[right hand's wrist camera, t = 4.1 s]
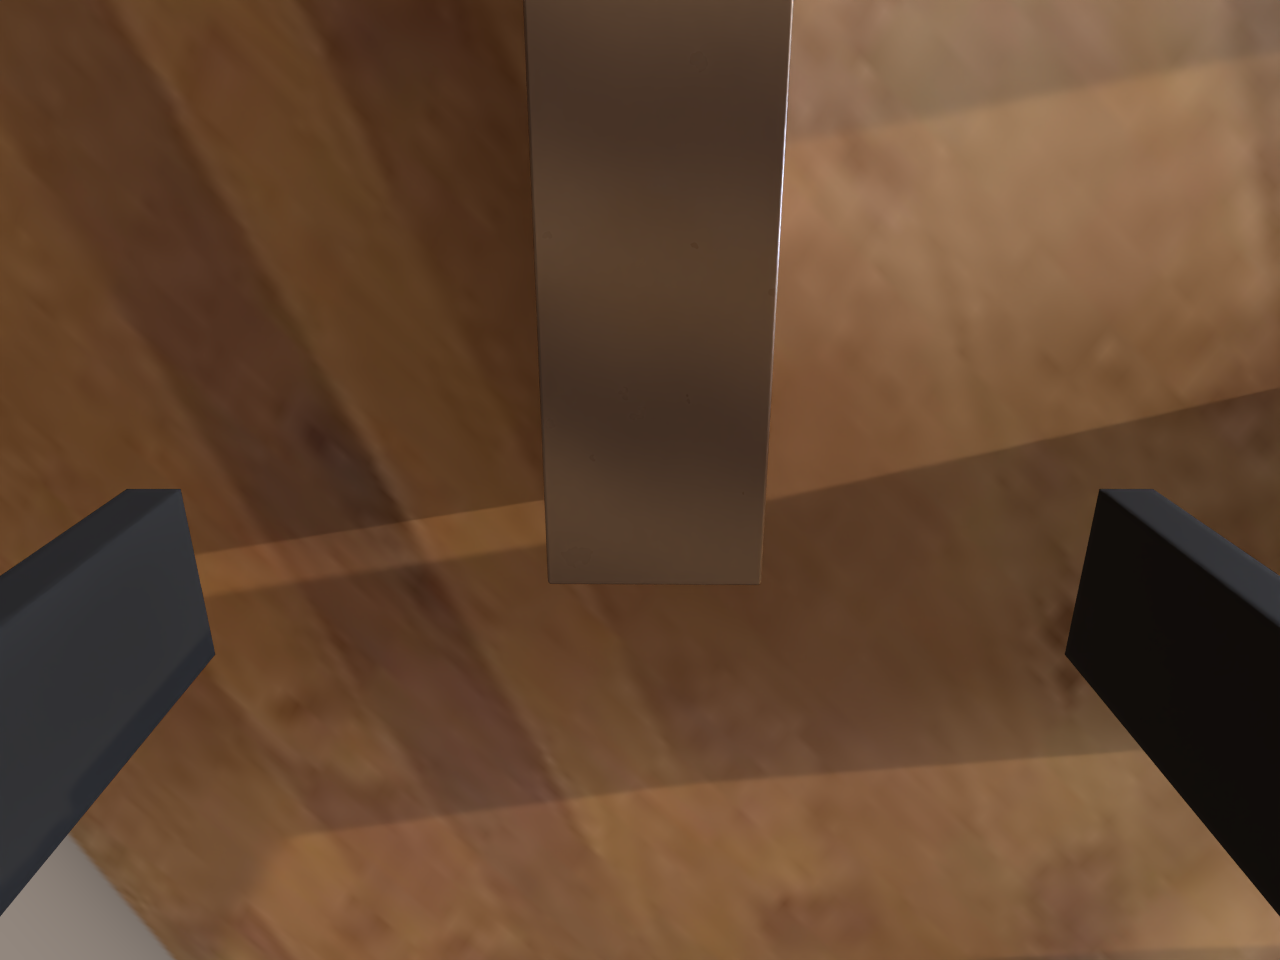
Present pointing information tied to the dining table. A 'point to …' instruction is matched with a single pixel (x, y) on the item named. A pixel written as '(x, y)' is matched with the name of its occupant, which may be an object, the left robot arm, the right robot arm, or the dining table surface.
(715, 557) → the post
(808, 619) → the dining table surface
